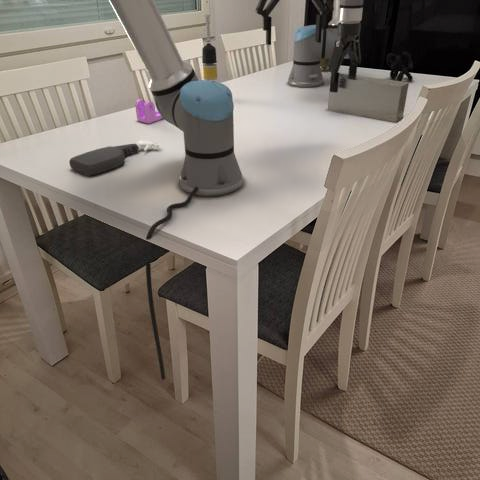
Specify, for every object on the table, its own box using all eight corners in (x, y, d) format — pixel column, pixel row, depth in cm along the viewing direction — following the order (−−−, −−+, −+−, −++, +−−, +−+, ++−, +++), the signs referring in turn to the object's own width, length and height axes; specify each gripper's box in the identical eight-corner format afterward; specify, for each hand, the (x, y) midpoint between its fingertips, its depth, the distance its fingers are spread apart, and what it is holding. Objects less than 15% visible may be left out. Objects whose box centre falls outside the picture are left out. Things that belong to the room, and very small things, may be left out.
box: (402, 117, 153) (409, 82, 147) (395, 122, 149) (401, 86, 143) (335, 106, 167) (338, 73, 161) (327, 110, 163) (330, 76, 156)
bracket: (148, 123, 152) (145, 102, 148) (137, 120, 155) (134, 100, 151) (175, 114, 161) (173, 94, 157) (164, 111, 164) (162, 92, 160)
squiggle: (400, 92, 202) (376, 71, 205) (417, 76, 202) (392, 56, 205) (405, 81, 191) (380, 59, 194) (423, 64, 191) (397, 42, 194)
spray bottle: (67, 168, 120) (139, 144, 136) (91, 178, 114) (163, 151, 130) (65, 157, 118) (137, 134, 134) (89, 167, 112) (162, 142, 128)
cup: (314, 71, 219) (315, 53, 215) (319, 68, 225) (320, 51, 220) (329, 72, 216) (330, 54, 212) (333, 69, 222) (335, 52, 217)
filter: (220, 99, 177) (217, 15, 161) (206, 100, 176) (202, 16, 160) (215, 96, 182) (212, 14, 166) (202, 97, 180) (197, 14, 164)
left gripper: (340, -53, 112) (333, 38, 123) (243, -52, 109) (244, 43, 120) (352, -54, 106) (343, 42, 117) (249, -53, 102) (250, 47, 114)
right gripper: (355, 17, 158) (349, 79, 169) (320, 25, 141) (315, 93, 153) (375, 18, 154) (367, 81, 165) (342, 27, 137) (335, 97, 149)
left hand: (293, 43), depth 119 cm, fingers open, 13 cm apart
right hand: (342, 87), depth 159 cm, fingers open, 13 cm apart
